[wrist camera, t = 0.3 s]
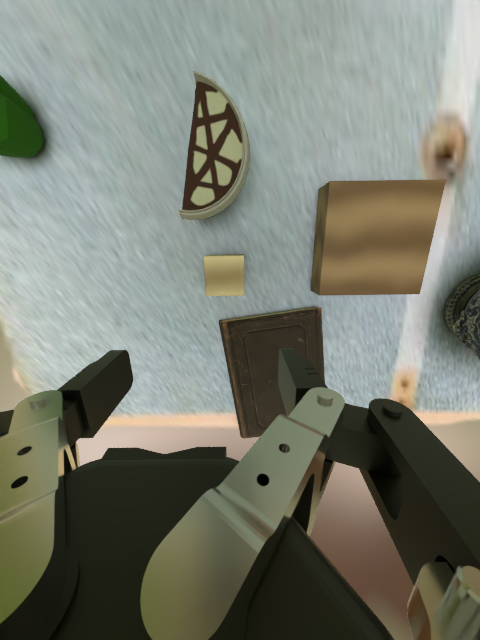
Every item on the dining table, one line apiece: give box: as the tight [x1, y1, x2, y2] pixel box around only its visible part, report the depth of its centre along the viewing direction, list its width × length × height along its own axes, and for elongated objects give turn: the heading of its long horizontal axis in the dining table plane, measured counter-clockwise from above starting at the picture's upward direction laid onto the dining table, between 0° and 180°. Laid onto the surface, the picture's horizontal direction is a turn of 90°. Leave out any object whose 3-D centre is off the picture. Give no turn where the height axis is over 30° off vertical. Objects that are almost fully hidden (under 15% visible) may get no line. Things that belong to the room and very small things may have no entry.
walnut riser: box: [311, 180, 446, 295], centre depth 32 cm, size 14×14×4 cm
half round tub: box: [178, 71, 250, 220], centre depth 26 cm, size 12×6×10 cm, turn 168°
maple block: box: [204, 255, 244, 296], centre depth 32 cm, size 5×5×6 cm
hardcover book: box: [219, 307, 325, 438], centre depth 40 cm, size 16×23×2 cm
